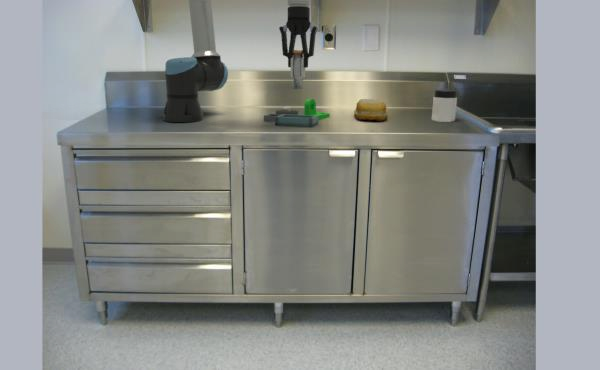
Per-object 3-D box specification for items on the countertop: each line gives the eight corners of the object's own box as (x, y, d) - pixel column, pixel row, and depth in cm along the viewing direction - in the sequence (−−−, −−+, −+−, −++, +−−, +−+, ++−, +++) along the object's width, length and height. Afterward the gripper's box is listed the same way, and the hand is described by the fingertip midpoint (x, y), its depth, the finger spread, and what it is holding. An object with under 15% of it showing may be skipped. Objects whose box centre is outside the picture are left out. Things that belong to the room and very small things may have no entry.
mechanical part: (317, 121, 192) (318, 100, 190) (304, 119, 195) (304, 99, 193) (332, 118, 202) (332, 98, 200) (319, 117, 205) (319, 97, 203)
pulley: (272, 117, 198) (272, 107, 197) (279, 115, 207) (279, 105, 206) (294, 118, 196) (294, 108, 195) (300, 116, 204) (300, 106, 203)
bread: (354, 122, 190) (355, 101, 188) (352, 115, 215) (353, 96, 213) (390, 123, 189) (391, 102, 187) (383, 115, 214) (385, 97, 212)
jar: (458, 122, 193) (461, 91, 190) (441, 123, 190) (444, 91, 187) (445, 119, 201) (447, 89, 198) (427, 120, 198) (430, 89, 195)
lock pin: (290, 88, 174) (290, 50, 171) (293, 88, 179) (293, 50, 175) (302, 88, 173) (302, 50, 170) (305, 88, 177) (305, 50, 174)
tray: (275, 125, 176) (275, 116, 176) (283, 122, 185) (283, 114, 184) (312, 127, 173) (312, 118, 172) (318, 123, 182) (318, 115, 181)
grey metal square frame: (263, 121, 188) (263, 115, 187) (269, 119, 194) (269, 113, 194) (281, 121, 186) (281, 116, 186) (286, 119, 193) (286, 114, 192)
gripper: (272, 5, 168) (272, 77, 173) (319, 5, 164) (317, 78, 169) (279, 8, 175) (279, 76, 181) (324, 7, 171) (322, 77, 177)
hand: (297, 77), depth 175 cm, fingers closed on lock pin, 3 cm apart
